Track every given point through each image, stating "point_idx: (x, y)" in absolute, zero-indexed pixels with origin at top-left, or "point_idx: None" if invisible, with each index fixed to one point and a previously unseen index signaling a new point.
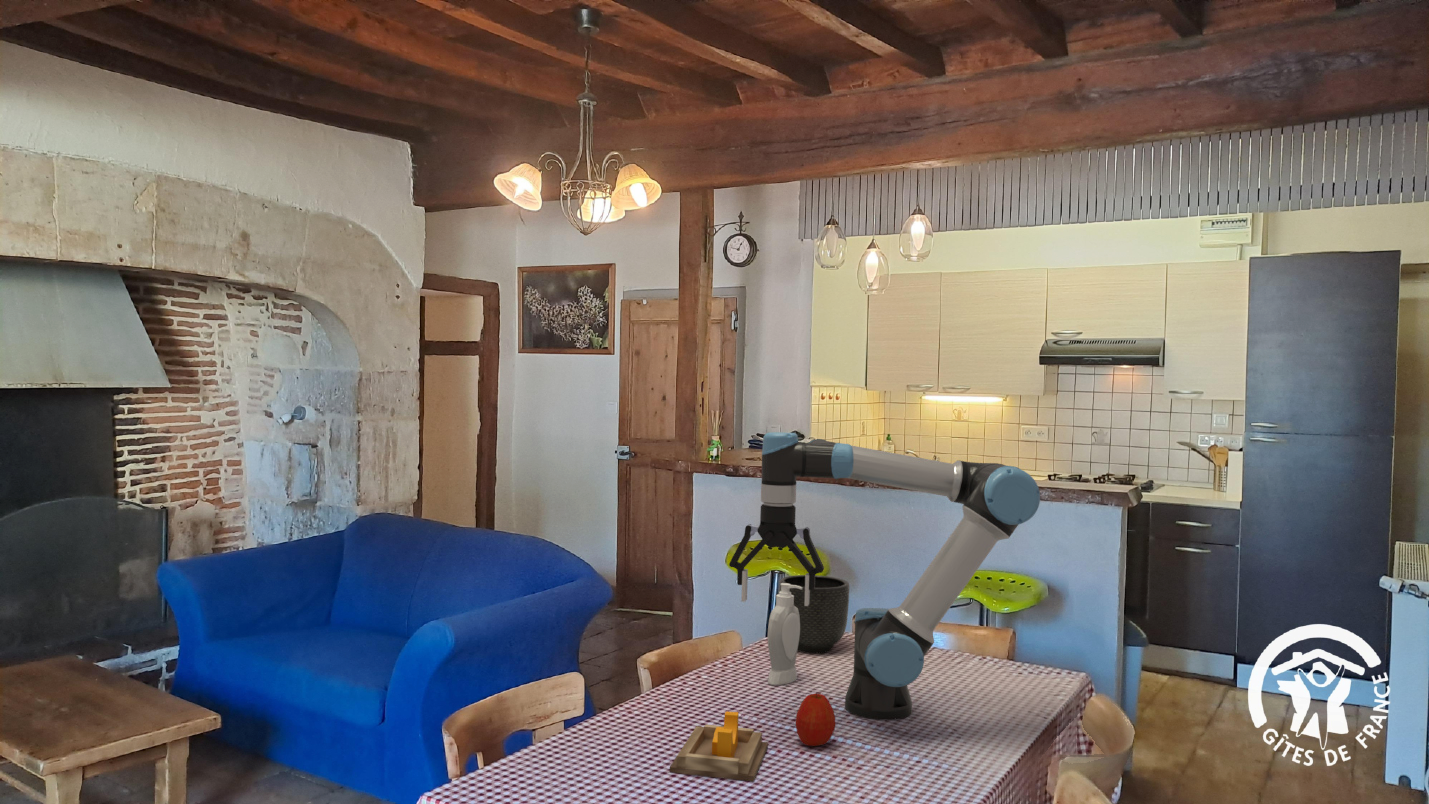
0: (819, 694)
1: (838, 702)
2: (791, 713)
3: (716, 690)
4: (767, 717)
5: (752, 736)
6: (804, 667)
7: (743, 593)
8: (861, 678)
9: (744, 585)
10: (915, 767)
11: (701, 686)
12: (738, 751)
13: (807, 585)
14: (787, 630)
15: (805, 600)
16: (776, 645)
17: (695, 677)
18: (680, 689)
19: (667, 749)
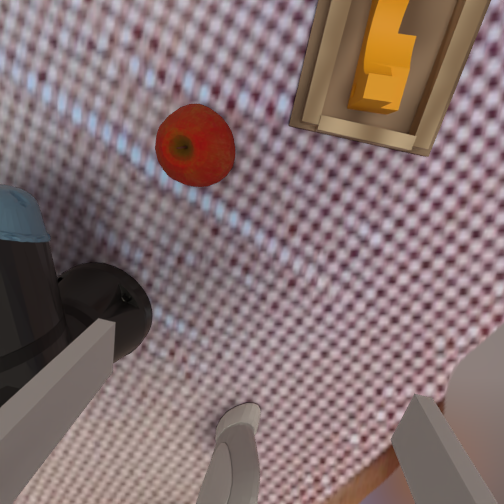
0: (173, 162)
1: (161, 336)
2: (235, 289)
3: (344, 384)
4: (275, 270)
5: (323, 96)
6: (203, 468)
7: (445, 433)
8: (97, 318)
9: (470, 485)
10: (45, 45)
11: (365, 400)
12: (350, 68)
13: (14, 405)
14: (218, 495)
15: (94, 339)
16: (243, 461)
17: (369, 435)
18: (402, 388)
19: (479, 99)
